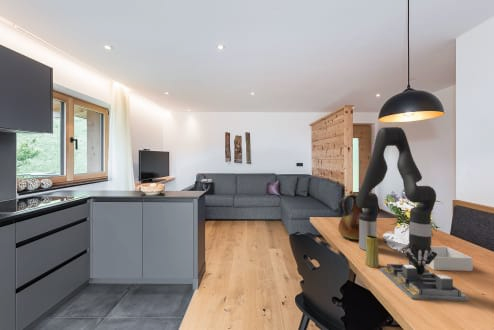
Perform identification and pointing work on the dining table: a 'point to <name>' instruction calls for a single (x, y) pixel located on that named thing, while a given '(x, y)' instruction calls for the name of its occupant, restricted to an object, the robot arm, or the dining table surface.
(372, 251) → the vase
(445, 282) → the breaker near
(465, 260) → the frame
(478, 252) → the dining table surface
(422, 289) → the panel
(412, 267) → the block
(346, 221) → the ceramic pitcher
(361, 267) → the dining table surface
